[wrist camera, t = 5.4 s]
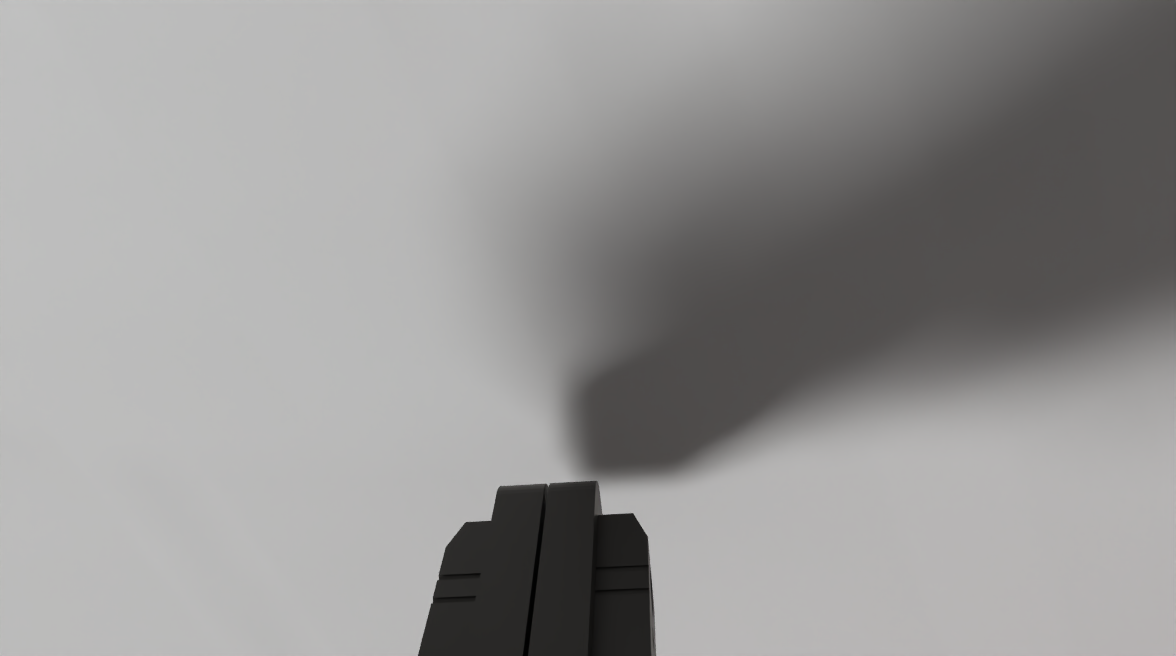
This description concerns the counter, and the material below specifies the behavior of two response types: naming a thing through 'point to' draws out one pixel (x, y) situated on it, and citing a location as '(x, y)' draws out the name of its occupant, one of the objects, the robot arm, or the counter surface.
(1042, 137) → the counter surface
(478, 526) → the robot arm
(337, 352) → the counter surface
